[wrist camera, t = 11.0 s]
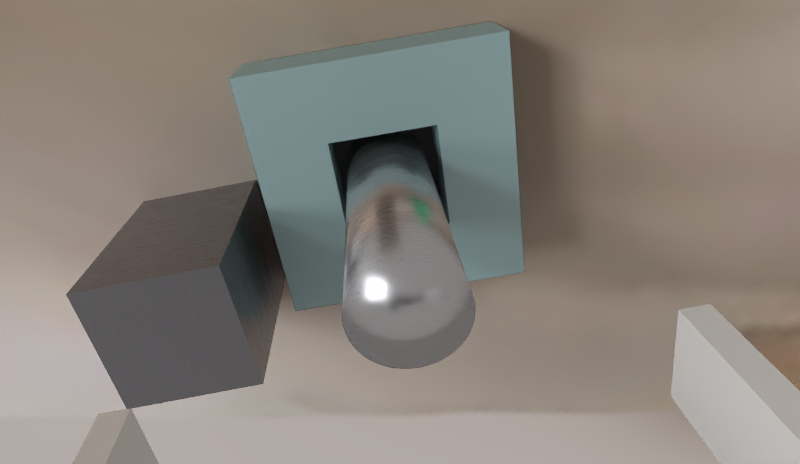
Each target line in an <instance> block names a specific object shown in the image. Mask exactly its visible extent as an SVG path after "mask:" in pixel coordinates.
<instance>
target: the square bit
mask: <svg viewBox="0 0 800 464" xmlns="http://www.w3.org/2000/svg"><path fill="white" fill-rule="evenodd" d="M284 281H285V273H284V270H283V267H282V264H281V260H280V257H279V254H278V251H277V248H276V244H275V241H274V238H273V235H272V232H271V228H270V225H269V222H268V219H267V216H266V213H265V209H264V206H263V203H262V200H261V197H260V193H259V190H258V187H257V184H256V181H255V180H254V181H249V182H244V183H239V184H233V185H228V186H223V187H218V188H213V189H207V190H202V191H197V192H192V193H186V194H181V195H176V196H171V197H166V198H160V199H155V200H150V201H145V202H143V203H142V204H141V206H140V207H139V208H138V209H137V210H136V212H135V213H134V214H133V215H132V216H131V218H130V219H129V220H128V221H127V222H126V224H125V225H124V226H123V227H122V228H121V230H120V231H119V232H118V233H117V234H116V236H115V237H114V238H113V239H112V240H111V242H110V243H109V244H108V245H107V246H106V248H105V249H104V250H103V251H102V252H101V254H100V255H99V256H98V257H97V258H96V259H95V261H94V262H93V263H92V264H91V265H90V267H89V268H88V269H87V270H86V271H85V273H84V274H83V275H82V276H81V277H80V279H79V280H78V281H77V282H76V283H75V285H74V286H73V287H72V288H71V289H70V291H69V292H68V293H67V294H66V295H67V297H68V299H69V301H70V302H71V304H72V306H73V308H74V310H75V312H76V314H77V316H78V317H79V319H80V321H81V323H82V325H83V327H84V329H85V331H86V333H87V334H88V336H89V338H90V340H91V342H92V344H93V346H94V348H95V350H96V351H97V353H98V355H99V357H100V359H101V361H102V363H103V365H104V367H105V368H106V370H107V372H108V374H109V376H110V378H111V380H112V382H113V383H114V385H115V387H116V389H117V391H118V393H119V395H120V397H121V399H122V400H123V402H124V404H125V406H126V408H127V409H130V408H136V407H141V406H147V405H152V404H157V403H163V402H168V401H173V400H179V399H184V398H189V397H195V396H200V395H205V394H211V393H216V392H221V391H227V390H232V389H238V388H243V387H248V386H254V385H259V384H263V382H264V377H265V372H266V367H267V362H268V358H269V353H270V348H271V343H272V338H273V334H274V329H275V324H276V319H277V315H278V310H279V305H280V300H281V295H282V291H283V286H284Z"/></svg>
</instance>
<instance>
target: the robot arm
mask: <svg viewBox="0 0 800 464" xmlns="http://www.w3.org/2000/svg"><path fill="white" fill-rule="evenodd" d="M671 397H672V399H673V400H674V401H675V403H676V404H677V405H678V407H679V408H680V410H681V411H682V412H683V414H684V415H685V416H686V418H687V419H688V421H689V422H690V423H691V425H692V426H693V427H694V429H695V430H696V432H697V433H698V434H699V436H700V437H701V438H702V440H703V441H704V443H705V444H706V445H707V447H708V448H709V449H710V451H711V452H712V453H713V455H714V456H715V458H716V459H717V460H718V462H719V463H720V464H800V391H799V390H798V389H797V388H796V387H795V386H794V385H793V384H792V383H791V382H790V381H789V380H788V379H787V378H786V377H785V376H784V375H783V374H782V373H781V372H780V371H779V370H778V369H777V368H775V367H774V366H773V365H772V364H771V363H770V362H769V361H768V360H767V359H766V358H765V357H764V356H763V355H762V354H761V353H760V352H759V351H758V350H757V349H756V348H755V347H754V346H753V345H752V344H751V343H750V342H749V341H748V340H747V339H746V338H745V337H744V336H743V335H742V334H741V333H740V332H739V331H737V330H736V329H735V328H734V327H733V326H732V325H731V324H730V323H729V322H728V321H727V320H726V319H725V318H724V317H723V316H722V315H721V314H720V313H719V312H718V311H717V310H716V309H715V308H714V307H713V306H712V305H711V304H707V305H701V306H696V307H690V308H685V309H679V310H678V321H677V332H676V343H675V354H674V365H673V376H672V387H671ZM73 464H159V463H158V462H157V459H156V457H155V455H154V453H153V451H152V449H151V447H150V445H149V443H148V442H147V439H146V438H145V435H144V433H143V431H142V429H141V427H140V425H139V423H138V421H137V419H136V418H135V416H134V414H133V412H132V410H131V408H130V409H124V410H119V411H113V412H108V413H102V414H98V416H97V418H96V420H95V422H94V424H93V426H92V428H91V430H90V432H89V434H88V435H87V437H86V439H85V441H84V443H83V445H82V447H81V449H80V451H79V452H78V454H77V456H76V458H75V460H74V462H73Z"/></svg>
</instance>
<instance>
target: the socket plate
mask: <svg viewBox="0 0 800 464" xmlns="http://www.w3.org/2000/svg"><path fill="white" fill-rule="evenodd" d="M229 81H230V85H231V88H232V92H233V95H234V98H235V102H236V105H237V109H238V112H239V116H240V119H241V123H242V126H243V130H244V133H245V137H246V140H247V144H248V147H249V151H250V154H251V157H252V161H253V164H254V168H255V171H256V175H257V178H258V182H259V185H260V189H261V192H262V196H263V199H264V203H265V206H266V210H267V213H268V216H269V220H270V223H271V227H272V230H273V234H274V237H275V241H276V244H277V248H278V251H279V255H280V258H281V262H282V265H283V269H284V272H285V275H286V279H287V282H288V286H289V289H290V293H291V296H292V300H293V303H294V307H295V310H296V311H299V310H305V309H310V308H316V307H322V306H328V305H334V304H340V303H343V281H344V255H345V229H346V203H347V177H348V157H349V152H350V149H351V146H352V144H353V143H354V141H355V140H356V139H358V138H364V137H369V136H375V135H381V134H387V133H393V132H398V131H404V130H408V131H410V132H411V133H412V134H413V135H414V136H415V137H416V138H417V139H418V140H419V142H420V144H421V146H422V148H423V151H424V154H425V157H426V160H427V163H428V166H429V168H430V171H431V174H432V177H433V180H434V183H435V186H436V189H437V192H438V195H439V198H440V201H441V204H442V207H443V209H444V212H445V215H446V218H447V221H448V224H449V227H450V230H451V233H452V236H453V239H454V242H455V245H456V248H457V250H458V253H459V256H460V259H461V262H462V265H463V268H464V271H465V274H466V277H467V280H468V282H469V281H475V280H480V279H486V278H492V277H498V276H504V275H510V274H516V273H521V272H524V259H523V243H522V227H521V211H520V195H519V178H518V162H517V146H516V130H515V114H514V98H513V82H512V66H511V50H510V34H509V30H507V29H505V28H503V27H501V26H499V25H498V24H496V23H494V22H492V21H490V22H484V23H478V24H473V25H467V26H461V27H455V28H449V29H443V30H438V31H432V32H426V33H420V34H414V35H409V36H403V37H397V38H391V39H385V40H380V41H374V42H368V43H362V44H356V45H351V46H345V47H339V48H333V49H327V50H322V51H316V52H310V53H304V54H298V55H293V56H287V57H281V58H275V59H269V60H264V61H258V62H252V63H246V64H243V65H242V66H241V67H240V68H239V69H238V70H237V71H236V72H235V73H234V74H233V75H232V76H231V77H230V78H229Z"/></svg>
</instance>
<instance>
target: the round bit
mask: <svg viewBox="0 0 800 464" xmlns="http://www.w3.org/2000/svg"><path fill="white" fill-rule="evenodd" d="M474 318H475V302H474V297H473V294H472V291H471V288H470V286H469V283H468V280H467V277H466V274H465V271H464V268H463V265H462V262H461V259H460V256H459V253H458V250H457V248H456V245H455V242H454V239H453V236H452V233H451V230H450V227H449V224H448V221H447V218H446V215H445V212H444V209H443V207H442V204H441V201H440V198H439V195H438V192H437V189H436V186H435V183H434V180H433V177H432V174H431V171H430V168H429V166H428V163H427V160H426V157H425V154H424V151H423V148H422V146H421V144H420V142H419V140H418V139H417V138H416V137H415V136H414V135H413V134H412V133H411V132H410V131H408V130H404V131H398V132H393V133H387V134H381V135H375V136H369V137H364V138H358V139H356V140H355V141H354V143H353V144H352V146H351V149H350V152H349V157H348V177H347V203H346V229H345V255H344V281H343V307H342V321H343V327H344V330H345V333H346V335H347V337H348V339H349V341H350V342H351V344H352V345H353V347H354V348H355V349H356V350H357V351H358V352H359V353H361V354H362V355H363V356H364V357H366V358H368V359H369V360H371V361H373V362H375V363H377V364H380V365H383V366H387V367H392V368H400V369H411V368H419V367H423V366H427V365H430V364H433V363H436V362H438V361H440V360H442V359H444V358H446V357H447V356H449V355H450V354H452V353H453V352H454V351H455V350H456V349H458V348H459V347H460V346H461V344H462V343H463V342H464V341H465V339H466V338H467V336H468V335H469V333H470V331H471V328H472V326H473V322H474Z"/></svg>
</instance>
